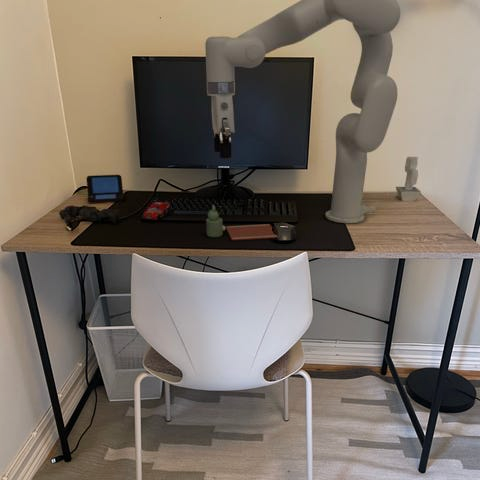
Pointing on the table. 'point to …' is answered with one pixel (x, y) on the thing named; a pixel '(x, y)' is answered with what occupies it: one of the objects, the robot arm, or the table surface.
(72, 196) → the table surface
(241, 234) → the reddish brown flat tray
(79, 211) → the robot figurine
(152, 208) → the race car
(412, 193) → the figurine
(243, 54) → the robot arm
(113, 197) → the handheld game console
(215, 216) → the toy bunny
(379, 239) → the table surface
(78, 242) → the table surface
